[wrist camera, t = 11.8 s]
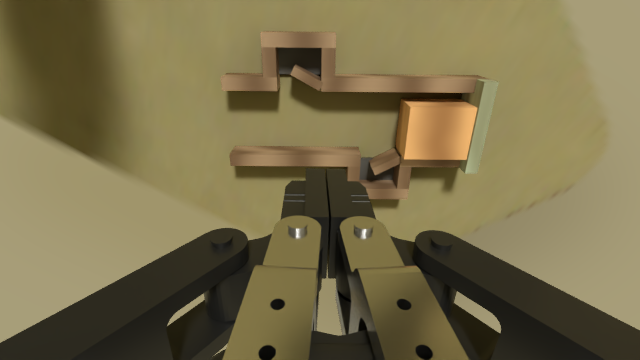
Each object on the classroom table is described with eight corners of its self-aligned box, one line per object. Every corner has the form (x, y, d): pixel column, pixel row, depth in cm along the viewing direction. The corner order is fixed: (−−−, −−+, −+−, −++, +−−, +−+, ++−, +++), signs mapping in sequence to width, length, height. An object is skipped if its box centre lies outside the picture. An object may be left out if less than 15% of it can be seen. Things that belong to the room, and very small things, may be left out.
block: (395, 145, 35) (403, 159, 32) (400, 98, 33) (410, 107, 30) (451, 145, 35) (466, 159, 32) (460, 98, 33) (477, 107, 30)
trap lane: (239, 187, 37) (231, 205, 33) (223, 30, 30) (210, 32, 27) (454, 188, 37) (469, 206, 34) (486, 33, 30) (509, 34, 27)
